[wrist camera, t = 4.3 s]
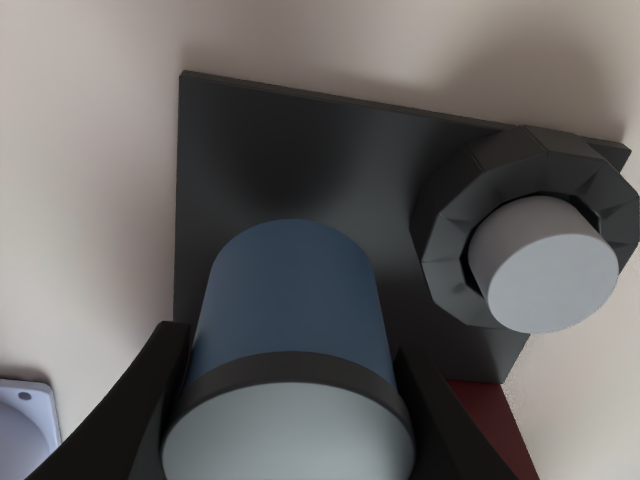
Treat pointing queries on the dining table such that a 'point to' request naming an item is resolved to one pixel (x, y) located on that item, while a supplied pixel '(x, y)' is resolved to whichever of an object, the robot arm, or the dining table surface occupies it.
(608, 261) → the power button
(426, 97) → the dining table surface
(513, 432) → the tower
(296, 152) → the dark grey drip tray
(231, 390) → the container
